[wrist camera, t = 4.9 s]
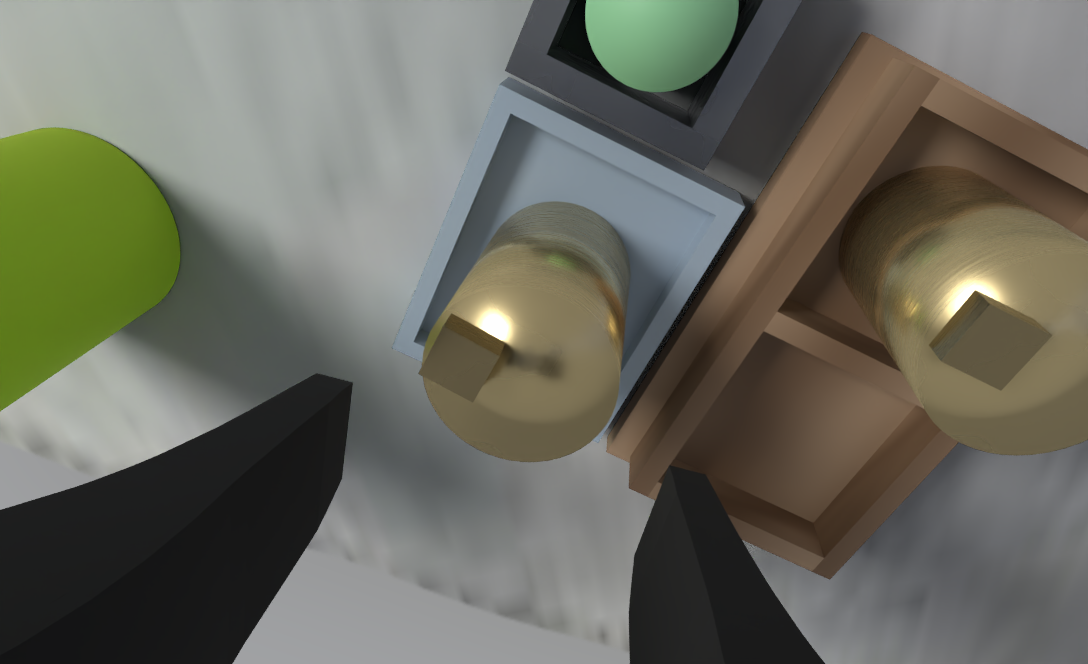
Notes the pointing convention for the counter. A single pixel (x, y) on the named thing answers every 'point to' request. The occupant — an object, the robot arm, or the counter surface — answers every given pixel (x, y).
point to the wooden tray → (826, 318)
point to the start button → (660, 39)
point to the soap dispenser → (74, 251)
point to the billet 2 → (975, 307)
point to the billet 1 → (534, 336)
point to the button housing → (642, 110)
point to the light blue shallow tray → (592, 182)
